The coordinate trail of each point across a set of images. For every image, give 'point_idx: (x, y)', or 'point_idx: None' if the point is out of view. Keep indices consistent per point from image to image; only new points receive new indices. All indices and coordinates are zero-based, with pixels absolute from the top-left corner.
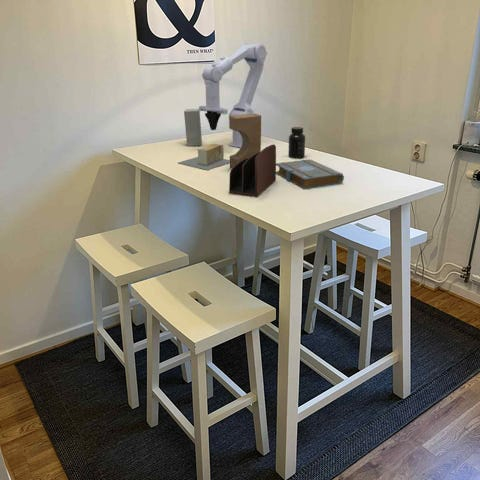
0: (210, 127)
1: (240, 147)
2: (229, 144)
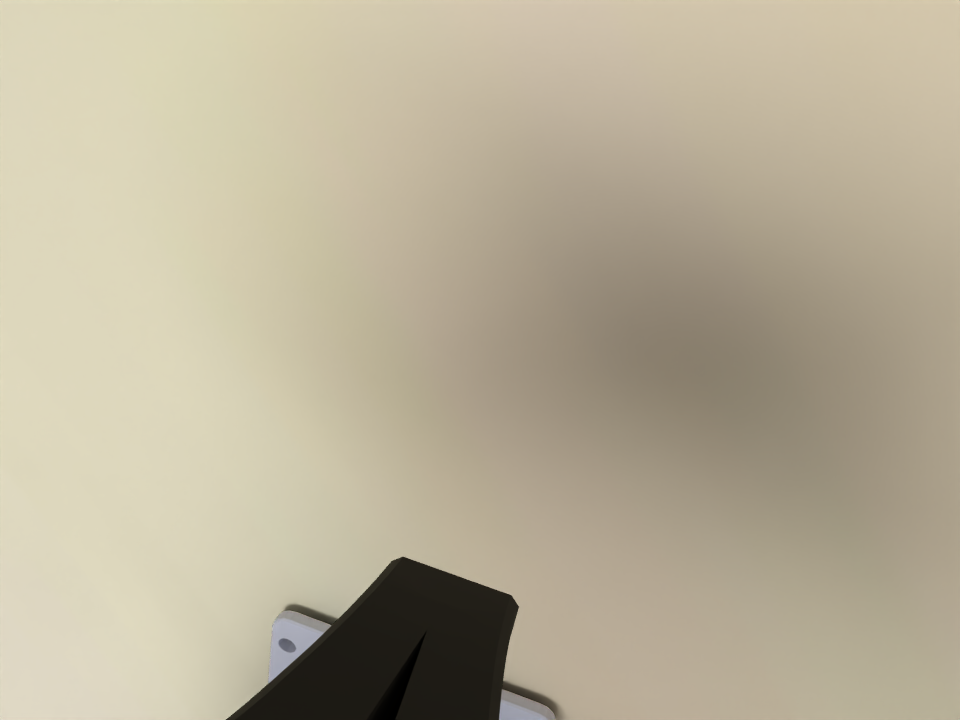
0: (479, 652)
1: (304, 615)
2: (530, 715)
